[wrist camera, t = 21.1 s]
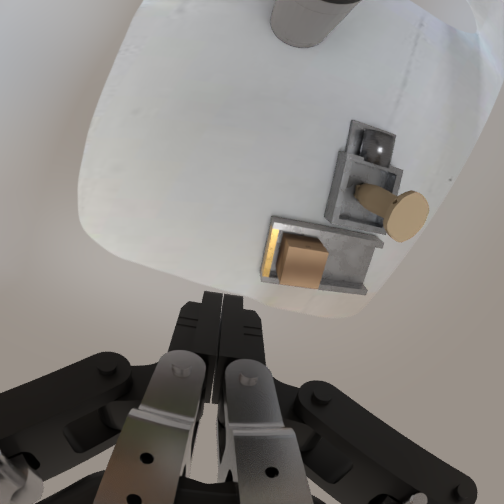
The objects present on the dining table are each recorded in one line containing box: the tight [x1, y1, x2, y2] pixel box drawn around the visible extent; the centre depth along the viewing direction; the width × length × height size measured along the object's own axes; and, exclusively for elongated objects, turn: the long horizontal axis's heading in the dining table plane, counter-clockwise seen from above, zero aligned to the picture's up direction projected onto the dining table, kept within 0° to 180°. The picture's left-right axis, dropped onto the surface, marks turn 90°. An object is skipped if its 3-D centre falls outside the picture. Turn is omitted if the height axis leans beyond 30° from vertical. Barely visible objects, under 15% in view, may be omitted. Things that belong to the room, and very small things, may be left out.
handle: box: [354, 183, 429, 242], centre depth 37 cm, size 5×6×15 cm
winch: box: [324, 120, 403, 235], centre depth 41 cm, size 16×10×6 cm, turn 170°
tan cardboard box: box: [275, 233, 329, 289], centre depth 44 cm, size 6×6×6 cm
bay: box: [260, 216, 384, 295], centre depth 47 cm, size 10×19×4 cm, turn 80°
